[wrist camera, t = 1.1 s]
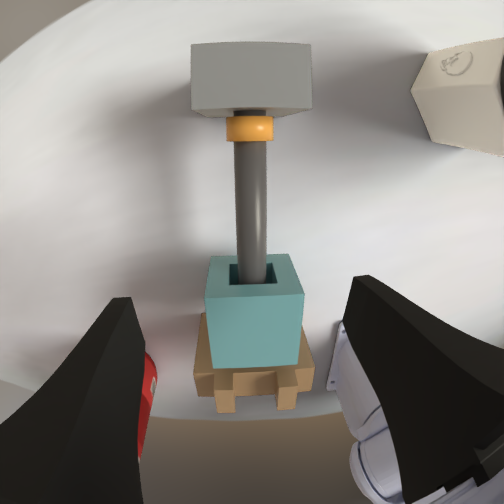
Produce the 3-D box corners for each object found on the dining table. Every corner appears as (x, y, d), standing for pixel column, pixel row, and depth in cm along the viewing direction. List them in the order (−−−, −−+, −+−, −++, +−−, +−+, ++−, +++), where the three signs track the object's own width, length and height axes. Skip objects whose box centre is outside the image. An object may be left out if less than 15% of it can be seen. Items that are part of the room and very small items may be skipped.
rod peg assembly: (295, 332, 26) (314, 406, 18) (204, 335, 25) (196, 412, 18) (303, 76, 17) (347, 46, 10) (185, 78, 17) (153, 46, 9)
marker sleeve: (285, 316, 21) (297, 364, 17) (216, 319, 21) (213, 368, 16) (288, 253, 19) (304, 293, 15) (211, 256, 19) (204, 298, 14)
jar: (433, 34, 15) (538, 10, 4) (489, 95, 17) (588, 107, 6) (395, 110, 18) (518, 115, 7) (457, 168, 20) (564, 210, 9)
